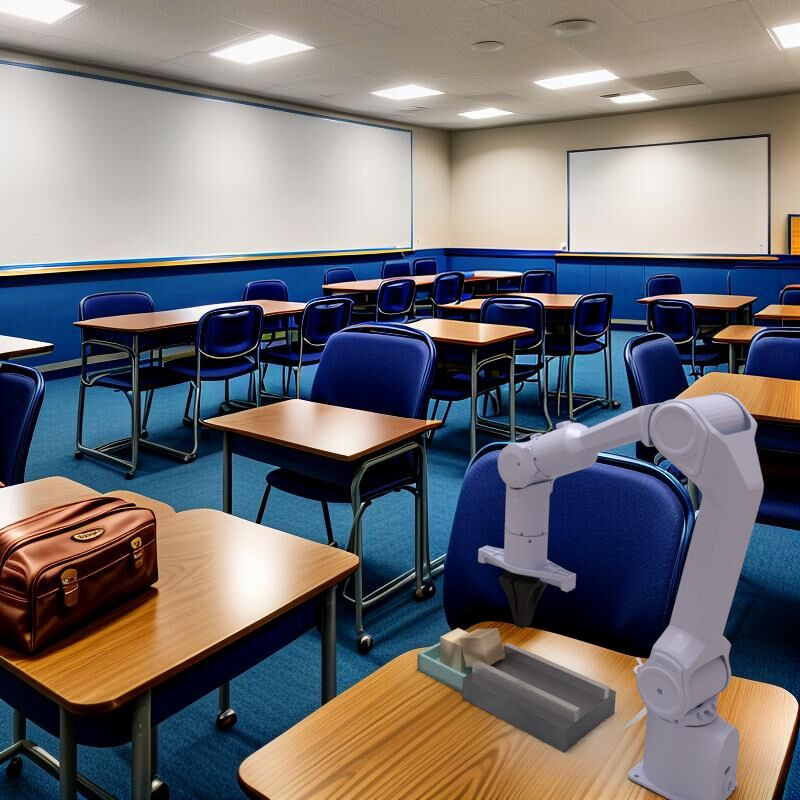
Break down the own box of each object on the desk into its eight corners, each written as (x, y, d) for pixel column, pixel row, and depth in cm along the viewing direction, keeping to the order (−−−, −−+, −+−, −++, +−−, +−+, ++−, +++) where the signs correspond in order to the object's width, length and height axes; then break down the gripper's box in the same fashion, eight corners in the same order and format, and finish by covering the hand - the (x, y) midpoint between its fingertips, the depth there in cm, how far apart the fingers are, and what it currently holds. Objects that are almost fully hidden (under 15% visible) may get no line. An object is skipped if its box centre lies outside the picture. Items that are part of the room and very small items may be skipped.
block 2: (505, 656, 105) (497, 628, 105) (487, 666, 102) (480, 637, 102) (484, 656, 107) (477, 629, 108) (466, 666, 105) (459, 638, 105)
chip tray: (509, 668, 108) (510, 652, 108) (465, 694, 101) (465, 677, 101) (461, 646, 114) (462, 631, 114) (417, 669, 107) (417, 653, 107)
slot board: (614, 712, 97) (616, 680, 97) (564, 752, 89) (566, 718, 88) (515, 666, 108) (516, 637, 108) (462, 698, 100) (463, 667, 99)
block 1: (479, 637, 108) (458, 628, 110) (461, 646, 105) (440, 636, 108) (478, 662, 108) (457, 653, 111) (460, 672, 106) (439, 662, 108)
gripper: (590, 535, 97) (584, 632, 99) (500, 511, 107) (497, 599, 109) (560, 549, 92) (556, 651, 94) (469, 522, 102) (467, 614, 104)
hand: (522, 624), depth 102 cm, fingers closed
